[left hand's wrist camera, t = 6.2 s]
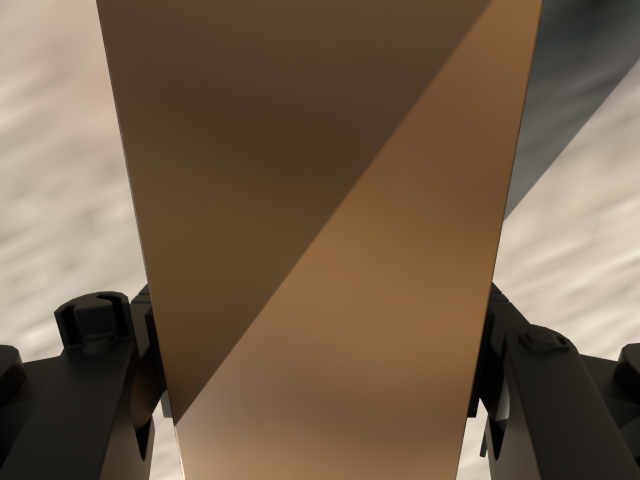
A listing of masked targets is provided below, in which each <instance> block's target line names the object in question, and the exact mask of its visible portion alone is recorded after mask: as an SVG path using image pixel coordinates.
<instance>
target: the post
mask: <svg viewBox="0 0 640 480" xmlns="http://www.w3.org/2000/svg"><path fill="white" fill-rule="evenodd" d="M96 3H97V8H98V14H99V19H100V25H101V30H102V36H103V41H104V47H105V52H106V57H107V63H108V68H109V74H110V79H111V85H112V90H113V96H114V101H115V107H116V112H117V118H118V123H119V129H120V134H121V139H122V145H123V150H124V156H125V161H126V167H127V172H128V178H129V183H130V189H131V194H132V200H133V205H134V210H135V216H136V221H137V227H138V232H139V238H140V243H141V249H142V254H143V260H144V265H145V271H146V276H147V282H148V287H149V292H150V298H151V303H152V309H153V314H154V320H155V325H156V331H157V336H158V342H159V347H160V353H161V358H162V364H163V369H164V374H165V380H166V385H167V391H168V396H169V402H170V407H171V413H172V418H173V424H174V429H175V435H176V440H177V445H178V451H179V456H180V462H181V467H182V473H183V478H184V480H456V476H457V471H458V465H459V460H460V454H461V449H462V443H463V438H464V432H465V427H466V421H467V416H468V410H469V405H470V400H471V394H472V389H473V383H474V378H475V372H476V367H477V361H478V356H479V350H480V345H481V339H482V334H483V328H484V323H485V317H486V312H487V307H488V301H489V296H490V290H491V285H492V279H493V274H494V268H495V263H496V257H497V252H498V246H499V241H500V235H501V230H502V225H503V219H504V214H505V208H506V203H507V197H508V192H509V186H510V181H511V175H512V170H513V164H514V159H515V153H516V148H517V142H518V137H519V132H520V126H521V121H522V115H523V110H524V104H525V99H526V93H527V88H528V82H529V77H530V71H531V66H532V60H533V55H534V49H535V44H536V39H537V33H538V28H539V22H540V17H541V11H542V6H543V0H96Z"/></svg>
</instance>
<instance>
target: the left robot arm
mask: <svg viewBox="0 0 640 480" xmlns="http://www.w3.org/2000/svg"><path fill="white" fill-rule="evenodd" d="M54 315H55V318H56V322H57V325H58V329H59V332H60V335H61V339H62V342H63V346H64V349H63V351H62V353H61V355H60V356H57V357H52V358H47V359H42V360H37V361H31V362H26V363H22V360H21V357H20V354H19V351H18V350H17V349H16V348H15V347H13V346H9V345H0V480H149V475H150V467H151V459H152V452H153V444H154V436H155V427H154V421H153V416H152V414H153V412H154V410H155V408H156V406H157V404H158V402H159V400H161V405H162V410H163V415H164V418H172V413H171V407H170V402H169V396H168V391H167V385H166V380H165V374H164V369H163V364H162V358H161V353H160V347H159V342H158V336H157V331H156V325H155V320H154V314H153V309H152V303H151V298H150V292H149V287H148V284H146V286H145V287H144V288H143V289H142V290H141V291H140V292H139V293H138V295H137V296H136V297H135V298H134V299H133V300H132V301H131V304H129V301H128V297H127V296H126V295H124V294H123V293H119V292H114V291H106V292H96V293H91V294H86V295H83V296H80V297H77V298H75V299H72V300H70V301H68V302H66V303H65V304H63V305H61V306H60V307H59V308H58V309H57V310H56V311H55V312H54ZM479 398H480V399H481V401H482V402H483V404H484V406H485V408H486V410H487V412H488V416H487V421H486V426H485V431H484V436H483V440H482V445H481V451H480V457H485V455H486V451H488V458H489V466H490V474H491V480H640V343H633V344H627V345H626V346H625V347H623V348H622V350H621V353H620V356H619V359H618V361H613V360H608V359H602V358H597V357H592V356H587V355H582V354H579V352H578V350H577V348H576V347H575V346H574V345H573V343H572V342H571V341H570V340H569V339H567V338H566V337H564V336H563V335H561V334H560V333H558V332H556V331H553V330H551V329H549V328H546V327H542V326H538V325H533V324H530V323H529V322H528V321H527V320H526V319H525V317H524V316H523V315H522V314H521V313H520V312H519V311H518V310H517V309H516V307H515V306H514V305H513V304H512V303H511V302H509V300H508V299H507V297H506V296H505V295H504V294H502V292H501V291H500V290H499V289H498V288H497V286H496V285H495V284H494V283H493V282H492V285H491V290H490V296H489V301H488V307H487V312H486V317H485V323H484V328H483V334H482V339H481V345H480V350H479V356H478V361H477V367H476V372H475V378H474V383H473V389H472V394H471V400H470V405H469V410H468V416H467V418H476V414H477V409H478V404H479Z"/></svg>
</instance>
